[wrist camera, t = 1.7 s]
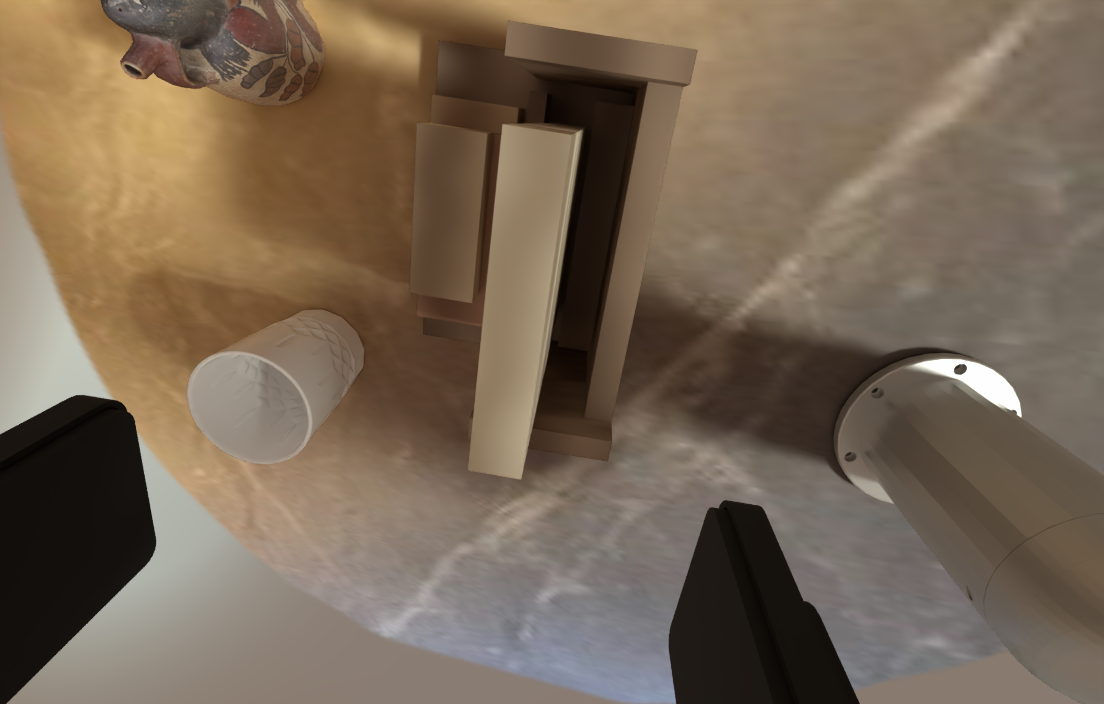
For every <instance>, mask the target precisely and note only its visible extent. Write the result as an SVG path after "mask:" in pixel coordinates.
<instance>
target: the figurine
mask: <svg viewBox="0 0 1104 704" xmlns="http://www.w3.org/2000/svg"><path fill="white" fill-rule="evenodd" d="M101 4H102V7H103V10H104V12H105V14H106V15H107V16H108V17H109V18H110V19H111V20H112V21H113V22H115V23H116V24H117V25H119V26H120V27H122V28H124V29H126V30H127V31H128V32H130V33H131V35H132V38H133V43H132V45H131V47H130V48H129V50H128V51H127V52H126V54H125V55H124V57H123V58H122V59H121V61H120V62H121V66H122V69H123V70H124V71H125V73H127V74H128V75H129V76H130V77H132V78H135V79H147V78H148V77H149V76H150V75H151V74H152V73H154V74H155V75H156V76H157V77H158V78H160V79H162V80H164V81H166V82H168V83H170V84H172V85H176V86H180V87H184V88H192V89H198V88H202V87H205V86H206V87H209V88H211V89H213V90H215V91H217V92H219V93H221V94H223V95H225V96H227V97H230V98H233V99H237V100H242V101H245V102H249V103H253V104H257V105H262V106H270V105H286V104H289V103H292V102H294V101H297V100H299V99H301V98H302V97H303V96H305V95H306V94H308V93H309V92H310V91H311V90H312V89H313V87H314V85H315V83H316V81H317V80H318V77H319V75H320V73H321V71H322V69H323V65H324V57H325V50H324V41H323V40H322V38H321V36H320V34H319V31H318V28H317V26H316V23H315V22H314V20H313V19H312V17H311V16H310V14H309V12H308V11H307V10H306V9H305V8H304V5H303V4H302V0H101Z"/></svg>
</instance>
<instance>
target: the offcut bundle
mask: <svg viewBox="0 0 1104 704" xmlns="http://www.w3.org/2000/svg"><path fill="white" fill-rule="evenodd" d="M524 114H525V109H522V108H516V107H509V106H503V105H497V104H490V103H484V102H477V101H471V100H465V99H458V98H452V97H445V96H439V95H433V94H432V98H431V117H430V123H428V122H424V123H417V130H416V153H415V176H414V199H413V222H412V245H411V268H410V291H409V293H413V294H418V300H417V316H420V317H426V318H433V319H439V320H445V321H451V322H457V323H463V324H469V325H475V326H481V327H482V324H483V314H484V304H485V294H486V284H487V274H488V264H489V254H490V244H491V234H492V224H493V214H494V204H495V194H496V184H497V174H498V164H499V154H500V144H501V134H502V125H503V124H523V123H524Z"/></svg>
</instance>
